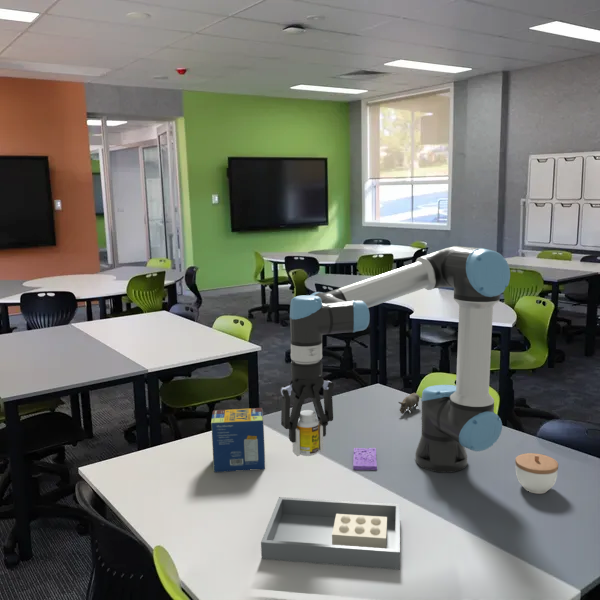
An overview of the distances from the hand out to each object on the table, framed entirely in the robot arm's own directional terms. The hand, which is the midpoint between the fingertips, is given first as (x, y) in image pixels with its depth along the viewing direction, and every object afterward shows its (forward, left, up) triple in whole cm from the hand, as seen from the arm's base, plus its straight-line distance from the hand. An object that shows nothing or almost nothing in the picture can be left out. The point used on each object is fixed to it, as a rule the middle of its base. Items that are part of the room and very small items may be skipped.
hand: (307, 451), depth 148 cm
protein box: (+26, -27, -18) cm, 41 cm away
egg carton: (-13, +11, -16) cm, 24 cm away
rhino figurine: (-25, -76, -18) cm, 82 cm away
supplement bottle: (0, 0, -1) cm, 1 cm away
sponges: (-12, -33, -18) cm, 40 cm away
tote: (-7, +11, -17) cm, 22 cm away
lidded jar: (-58, -21, -18) cm, 65 cm away
